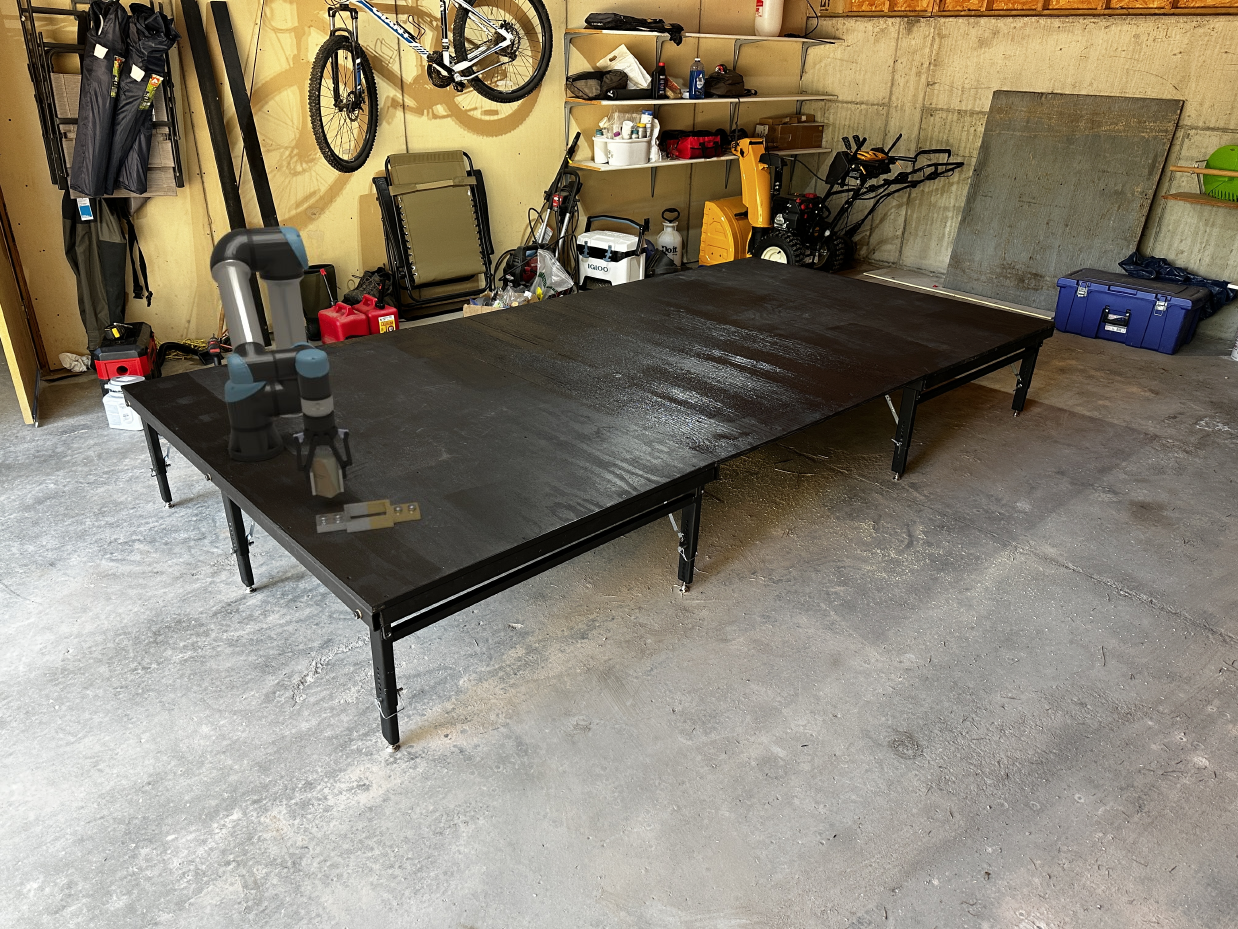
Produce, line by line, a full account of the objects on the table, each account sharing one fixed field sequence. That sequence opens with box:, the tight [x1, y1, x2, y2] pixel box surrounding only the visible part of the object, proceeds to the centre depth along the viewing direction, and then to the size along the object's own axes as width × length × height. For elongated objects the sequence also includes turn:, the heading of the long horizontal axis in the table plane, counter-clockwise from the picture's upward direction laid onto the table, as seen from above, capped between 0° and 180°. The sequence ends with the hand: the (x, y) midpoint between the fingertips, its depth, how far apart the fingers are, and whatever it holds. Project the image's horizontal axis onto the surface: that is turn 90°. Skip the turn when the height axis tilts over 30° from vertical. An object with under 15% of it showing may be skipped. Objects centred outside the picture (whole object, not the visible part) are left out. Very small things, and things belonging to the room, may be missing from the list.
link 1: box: [315, 501, 372, 534], centre depth 213 cm, size 13×9×3 cm
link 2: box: [366, 499, 422, 530], centre depth 217 cm, size 13×9×3 cm
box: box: [311, 450, 341, 499], centre depth 218 cm, size 5×4×11 cm
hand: (328, 490), depth 220 cm, fingers closed on box, 6 cm apart
